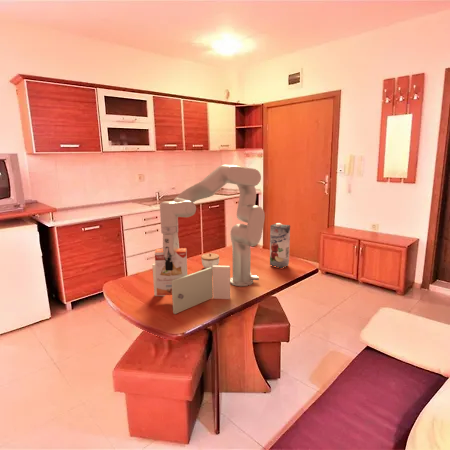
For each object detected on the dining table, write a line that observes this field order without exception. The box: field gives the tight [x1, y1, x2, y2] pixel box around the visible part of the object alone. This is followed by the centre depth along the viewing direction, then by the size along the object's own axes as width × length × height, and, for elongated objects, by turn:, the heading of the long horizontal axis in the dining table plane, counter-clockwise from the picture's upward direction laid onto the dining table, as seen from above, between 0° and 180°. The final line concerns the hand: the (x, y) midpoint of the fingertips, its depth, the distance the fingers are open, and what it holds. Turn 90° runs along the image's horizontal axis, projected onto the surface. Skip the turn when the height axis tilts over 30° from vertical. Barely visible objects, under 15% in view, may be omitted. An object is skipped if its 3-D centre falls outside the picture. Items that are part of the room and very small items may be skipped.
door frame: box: [152, 262, 231, 300], centre depth 152 cm, size 37×2×16 cm, turn 83°
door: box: [171, 267, 214, 315], centre depth 142 cm, size 22×3×15 cm, turn 134°
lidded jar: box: [201, 252, 220, 271], centre depth 190 cm, size 11×11×9 cm
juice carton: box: [269, 222, 291, 269], centre depth 190 cm, size 9×10×27 cm
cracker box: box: [154, 247, 188, 297], centre depth 145 cm, size 14×6×21 cm, turn 95°
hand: (171, 267), depth 145 cm, fingers closed on cracker box, 6 cm apart
